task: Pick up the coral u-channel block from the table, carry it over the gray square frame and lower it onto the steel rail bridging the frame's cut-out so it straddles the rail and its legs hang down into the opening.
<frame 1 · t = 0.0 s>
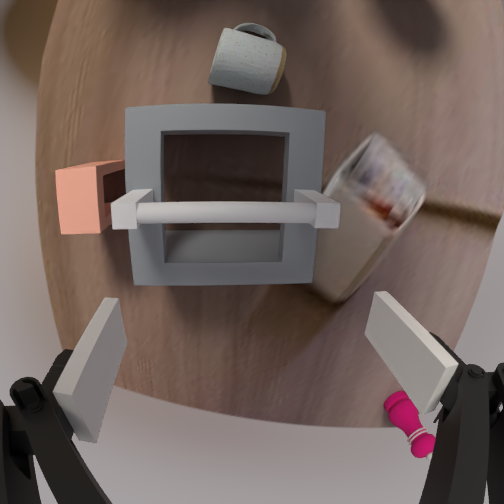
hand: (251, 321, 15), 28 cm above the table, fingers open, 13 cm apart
gray square frame: (221, 182, 40), on the table
pepper mill: (394, 399, 61), on the table
ceramic mug: (244, 60, 34), on the table
coral u-channel block: (109, 186, 38), on the table
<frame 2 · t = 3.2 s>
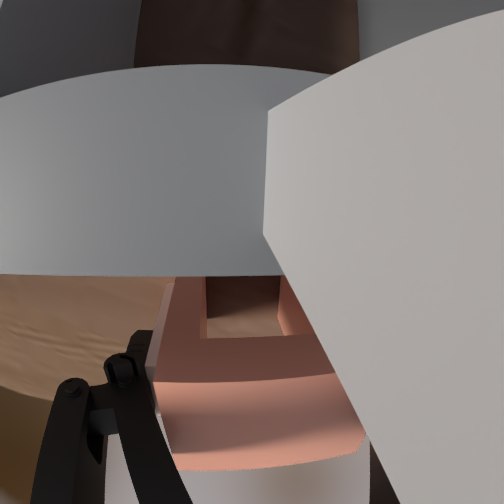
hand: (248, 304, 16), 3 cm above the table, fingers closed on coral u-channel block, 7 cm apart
gray square frame: (252, 25, 13), on the table
coral u-channel block: (243, 284, 19), on the table, touching gripper
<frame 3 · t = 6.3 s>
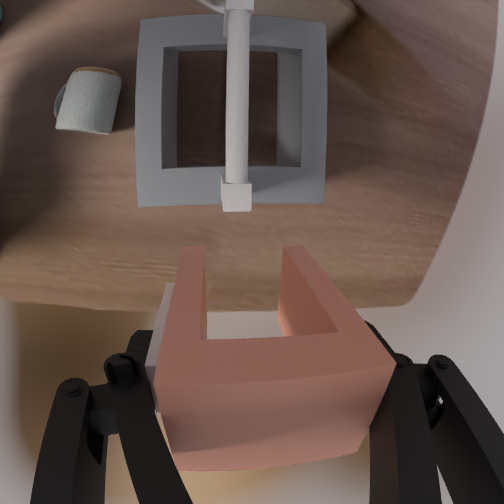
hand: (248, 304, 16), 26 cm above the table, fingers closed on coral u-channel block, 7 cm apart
gray square frame: (227, 115, 36), on the table
ceramic mug: (91, 106, 33), on the table
coral u-channel block: (243, 284, 19), point 23 cm above the table, touching gripper
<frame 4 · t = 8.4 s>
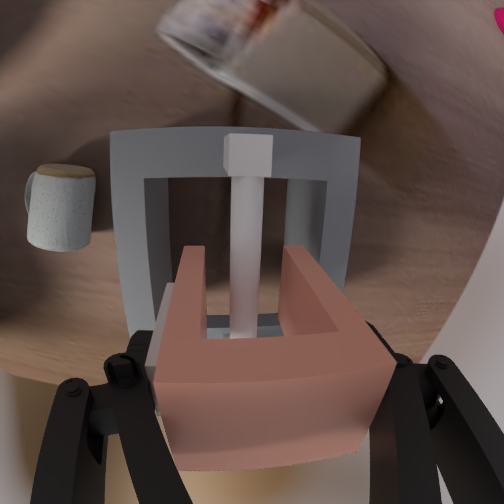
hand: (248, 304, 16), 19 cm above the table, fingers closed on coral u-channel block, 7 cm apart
gray square frame: (227, 219, 34), on the table
pepper mill: (503, 23, 26), on the table
ceramic mug: (66, 198, 30), on the table
coral u-channel block: (243, 284, 19), point 16 cm above the table, touching gripper
when the fingers open (14 cm above the table, at t = 9.7 s): coral u-channel block drops 1 cm, resting on gray square frame.
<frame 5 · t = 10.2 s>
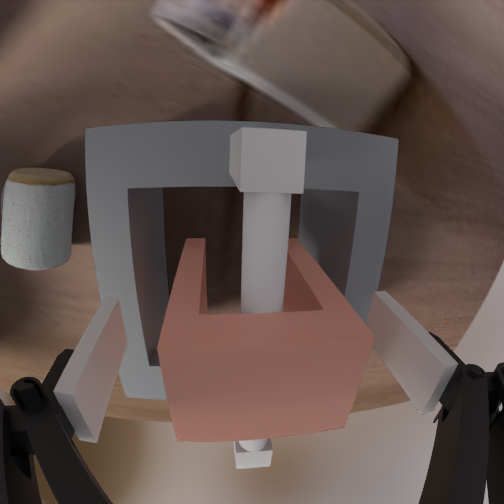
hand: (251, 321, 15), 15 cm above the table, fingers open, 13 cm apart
gray square frame: (232, 232, 29), on the table
ceramic mug: (45, 206, 26), on the table
coral u-channel block: (241, 274, 20), point 10 cm above the table, touching gray square frame
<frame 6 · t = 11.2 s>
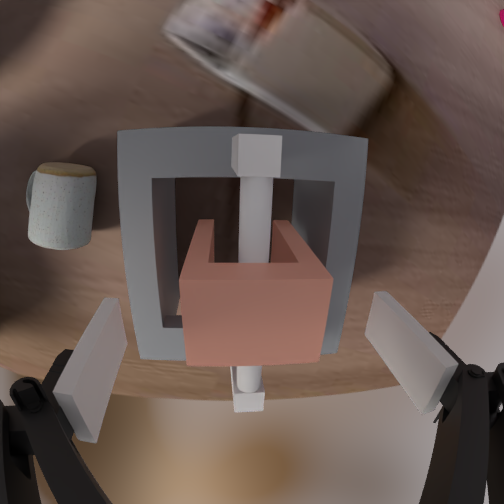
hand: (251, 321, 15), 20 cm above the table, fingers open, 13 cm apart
gray square frame: (234, 220, 34), on the table
ceramic mug: (67, 197, 31), on the table
coral u-channel block: (242, 249, 25), point 10 cm above the table, touching gray square frame
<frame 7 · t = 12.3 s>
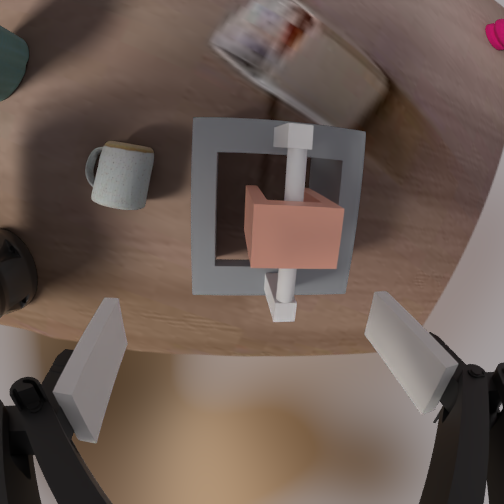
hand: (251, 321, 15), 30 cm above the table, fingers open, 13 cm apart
gray square frame: (263, 194, 43), on the table
pepper mill: (493, 37, 34), on the table
flower pot: (4, 70, 30), on the table
ceramic mug: (122, 171, 40), on the table
coral u-channel block: (276, 208, 33), point 10 cm above the table, touching gray square frame
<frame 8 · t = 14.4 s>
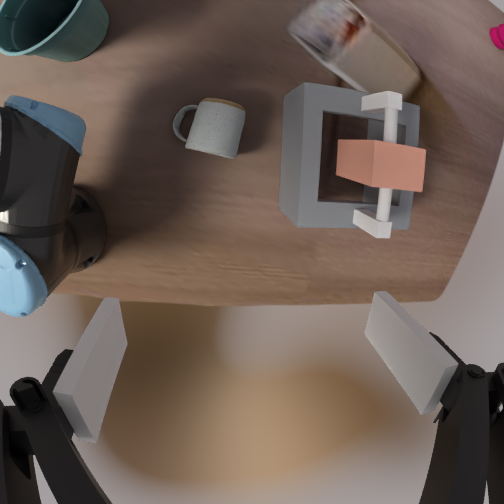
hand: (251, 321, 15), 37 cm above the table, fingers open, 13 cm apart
gray square frame: (332, 155, 49), on the table
pepper mill: (496, 38, 41), on the table
flower pot: (78, 33, 35), on the table
ceramic mug: (207, 129, 45), on the table
coral u-channel block: (359, 159, 40), point 10 cm above the table, touching gray square frame
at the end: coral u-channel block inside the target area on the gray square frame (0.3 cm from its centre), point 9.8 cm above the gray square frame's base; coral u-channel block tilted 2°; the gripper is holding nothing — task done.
